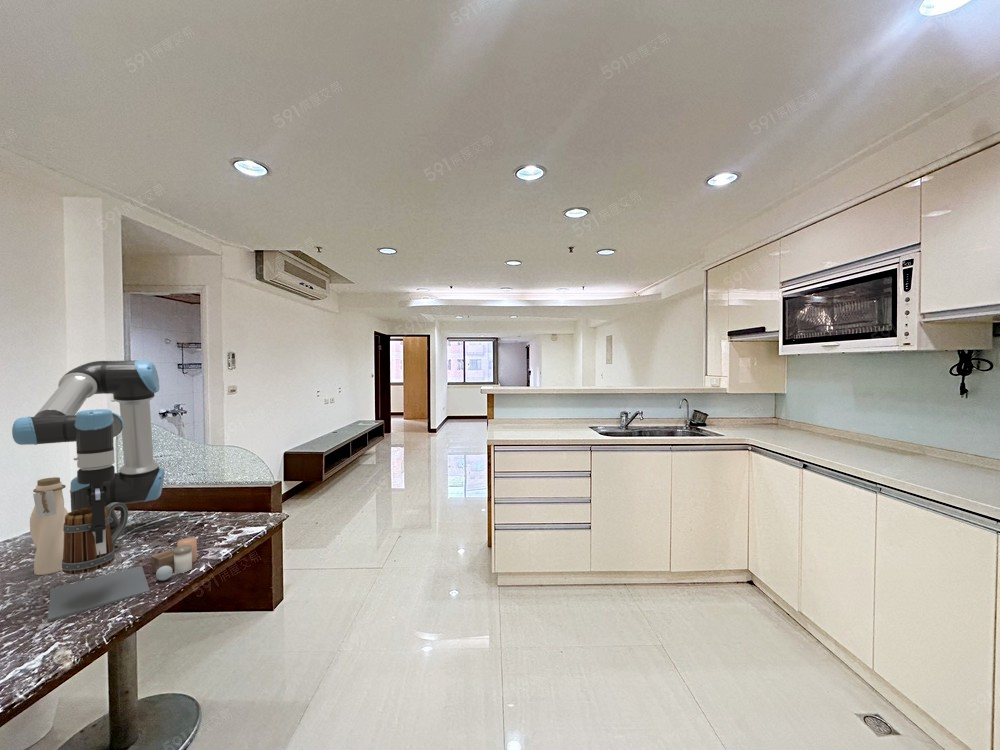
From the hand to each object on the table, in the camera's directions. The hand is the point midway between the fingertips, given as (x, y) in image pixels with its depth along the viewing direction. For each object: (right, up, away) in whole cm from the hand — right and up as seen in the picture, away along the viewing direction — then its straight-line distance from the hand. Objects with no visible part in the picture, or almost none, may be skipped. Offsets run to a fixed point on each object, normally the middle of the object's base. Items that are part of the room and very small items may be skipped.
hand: (98, 548), depth 121 cm
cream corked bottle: (-28, -13, +16) cm, 35 cm away
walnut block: (+7, -13, +15) cm, 21 cm away
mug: (0, -4, +1) cm, 4 cm away
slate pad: (-2, -13, +3) cm, 14 cm away
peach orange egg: (+10, -13, +21) cm, 26 cm away
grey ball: (+11, -11, +10) cm, 18 cm away
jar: (+12, -13, +15) cm, 23 cm away
